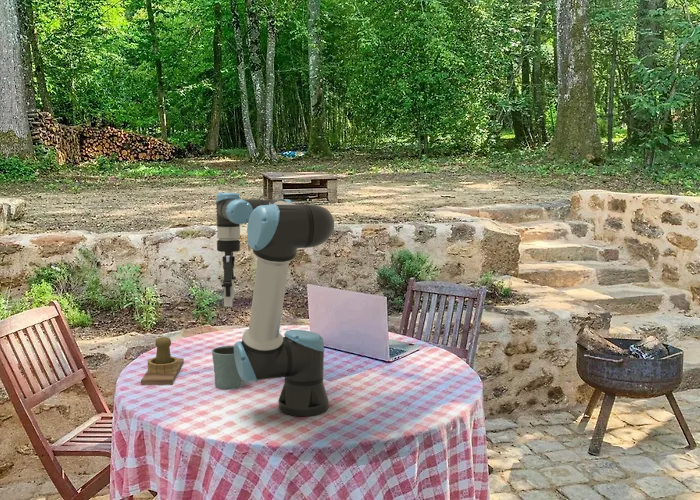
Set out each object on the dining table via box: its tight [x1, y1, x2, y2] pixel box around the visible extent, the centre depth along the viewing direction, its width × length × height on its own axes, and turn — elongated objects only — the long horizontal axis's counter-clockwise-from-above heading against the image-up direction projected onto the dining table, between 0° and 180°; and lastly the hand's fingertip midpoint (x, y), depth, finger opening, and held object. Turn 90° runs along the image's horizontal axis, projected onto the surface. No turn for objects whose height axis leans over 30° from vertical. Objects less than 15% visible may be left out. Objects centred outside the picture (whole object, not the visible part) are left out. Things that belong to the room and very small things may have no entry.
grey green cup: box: [211, 345, 243, 390], centre depth 213 cm, size 10×10×12 cm
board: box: [140, 356, 185, 386], centre depth 224 cm, size 24×10×4 cm, turn 6°
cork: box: [154, 336, 172, 364], centre depth 224 cm, size 6×6×11 cm
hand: (229, 302), depth 217 cm, fingers open, 13 cm apart
